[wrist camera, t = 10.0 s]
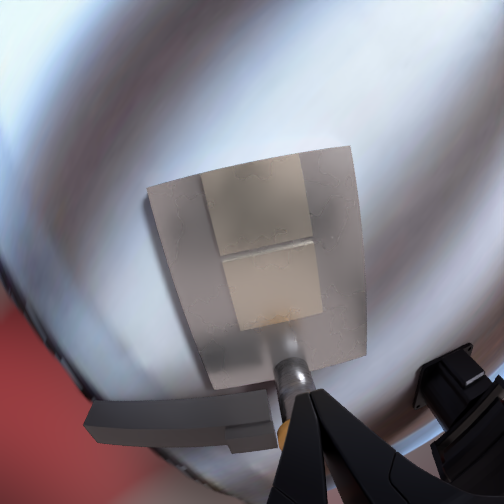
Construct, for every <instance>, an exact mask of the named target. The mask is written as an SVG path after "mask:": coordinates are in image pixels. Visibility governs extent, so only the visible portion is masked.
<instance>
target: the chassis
mask: <svg viewBox="0 0 504 504" xmlns="http://www.w3.org/2000/svg"><path fill="white" fill-rule="evenodd" d="M147 192H148V196H149V200H150V204H151V208H152V211H153V215H154V219H155V222H156V226H157V229H158V233H159V236H160V240H161V243H162V247H163V250H164V253H165V256H166V260H167V263H168V266H169V269H170V272H171V276H172V279H173V282H174V285H175V288H176V291H177V294H178V297H179V300H180V302H181V305H182V308H183V311H184V314H185V317H186V319H187V322H188V325H189V328H190V330H191V333H192V336H193V338H194V341H195V343H196V346H197V349H198V351H199V354H200V356H201V359H202V361H203V364H204V366H205V369H206V371H207V374H208V376H209V378H210V381H211V383H212V386H213V388H214V390H218V389H225V388H231V387H237V386H243V385H249V384H254V383H260V382H265V381H270V380H275V385H276V390H277V396H278V401H279V406H280V412H281V417H282V423H284V422H286V421H287V420H289V419H290V418H291V413H292V409H293V405H294V400H295V396H296V395H298V394H302V393H306V392H308V393H309V394H310V392H311V391H314V390H316V388H315V385H314V382H313V379H312V376H311V373H310V371H314V370H317V369H321V368H325V367H329V366H332V365H336V364H339V363H343V362H346V361H349V360H353V359H356V358H359V357H362V356H366V348H367V308H366V279H365V261H364V247H363V236H362V225H361V216H360V207H359V199H358V191H357V184H356V177H355V171H354V164H353V158H352V153H351V147H350V146H342V147H335V148H328V149H321V150H314V151H308V152H301V153H295V154H290V155H284V156H278V157H273V158H268V159H263V160H257V161H253V162H248V163H243V164H238V165H234V166H229V167H225V168H220V169H216V170H212V171H208V172H204V173H200V174H196V175H192V176H188V177H184V178H180V179H176V180H173V181H169V182H165V183H162V184H158V185H155V186H151V187H148V188H147Z"/></svg>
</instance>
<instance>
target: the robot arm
mask: <svg viewBox="0 0 504 504" xmlns="http://www.w3.org/2000/svg"><path fill="white" fill-rule="evenodd" d="M472 349H473V345H472V344H471V343H468V344H466V345H464V346H462V347H460V348H458V349H456V350H454V351H452V352H450V353H448V354H446V355H444V356H442V357H440V358H438V359H436V360H433V361H431V362H429V363H427V364H425V365H424V366H423V367H422V369H421V373H420V378H419V382H418V387H417V391H416V395H415V399H414V403H413V408H414V410H417V409H419V408H421V407H424V406H426V405H427V406H428V407H429V408H430V410H431V411H432V413H433V414H434V416H435V417H436V419H437V420H438V422H439V424H440V425H441V427H442V428H443V430H444V431H445V433H444V434H443V435H442V436H441V437H440V438H439V439H438V440H436V441H434V442H433V443H432V444H431V445H430V447H431V449H432V454H433V457H434V460H435V463H436V466H437V469H438V472H439V475H440V478H441V479H439V478H437V477H435V476H433V475H431V474H429V473H428V472H426V471H424V470H423V469H421V468H419V467H418V466H416V465H415V464H413V463H412V462H411V461H409V460H408V459H407V458H405V457H404V456H403V455H401V454H400V453H399V452H396V450H395V449H394V448H392V447H391V446H390V445H389V444H387V443H386V442H385V441H384V440H383V439H381V438H380V437H379V436H378V435H376V434H375V433H374V432H373V431H372V430H370V429H369V428H368V427H367V426H366V425H364V424H363V423H362V422H361V421H360V420H359V419H357V418H356V417H355V416H354V415H353V414H352V413H350V412H349V411H348V410H347V409H346V408H345V407H343V406H342V405H341V404H340V403H339V402H338V401H337V400H335V399H334V398H333V397H332V396H331V395H330V394H329V393H327V392H326V391H325V390H324V389H318V390H314V391H311V392H310V394H309V393H308V392H306V393H302V394H298V395H296V396H295V400H294V405H293V409H292V413H291V418H290V422H289V426H288V430H287V434H286V438H285V442H284V446H283V450H282V453H281V457H280V461H279V465H278V468H277V472H276V475H275V479H274V482H273V487H272V488H271V492H270V495H269V498H268V501H267V504H328V500H327V488H326V477H325V466H324V458H325V460H326V463H327V465H328V468H329V470H330V472H331V475H332V477H333V480H334V482H335V484H336V487H337V489H338V492H339V494H340V496H341V499H342V501H343V503H344V504H504V401H503V400H502V399H503V398H504V379H503V378H502V377H501V376H500V375H499V374H498V376H497V377H496V378H495V381H494V382H493V383H492V381H491V380H490V379H489V378H488V377H487V376H486V375H485V371H484V370H483V369H482V368H481V367H480V366H479V365H478V364H477V363H476V362H475V361H474V360H473V359H472V358H471V357H470V356H471V353H472ZM323 455H324V456H323Z"/></svg>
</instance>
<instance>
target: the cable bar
mask: <svg viewBox="0 0 504 504" xmlns="http://www.w3.org/2000/svg"><path fill="white" fill-rule="evenodd" d="M289 422H290V419H289V420H287V421H286V422H284V423H283V424H282V425H281V426H280V428H279V429H278V432H277V436H278V443H279V448H280V449H281V451H282V450H283V446H284V442H285V438H286V434H287V430H288V426H289ZM83 426H84V427H85V428H86V430H87V431H88V432H89V433H90V434H91V436H92V437H93V438H94V439H95V440H96V442H97V443H103V444H112V445H123V446H139V447H204V446H219V445H228V447H229V449H230V451H231V453H232V454H234V453H244V452H252V451H260V450H267V449H273V448H278V445H277V438H276V433H275V429H274V425H273V421H272V416H271V409H270V405H269V400H268V396H267V391H266V389H263V390H257V391H250V392H244V393H237V394H229V395H221V396H212V397H202V398H191V399H177V400H158V401H98V400H94V402H93V404H92V407H91V409H90V411H89V413H88V415H87V418H86V420H85V422H84V424H83Z"/></svg>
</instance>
